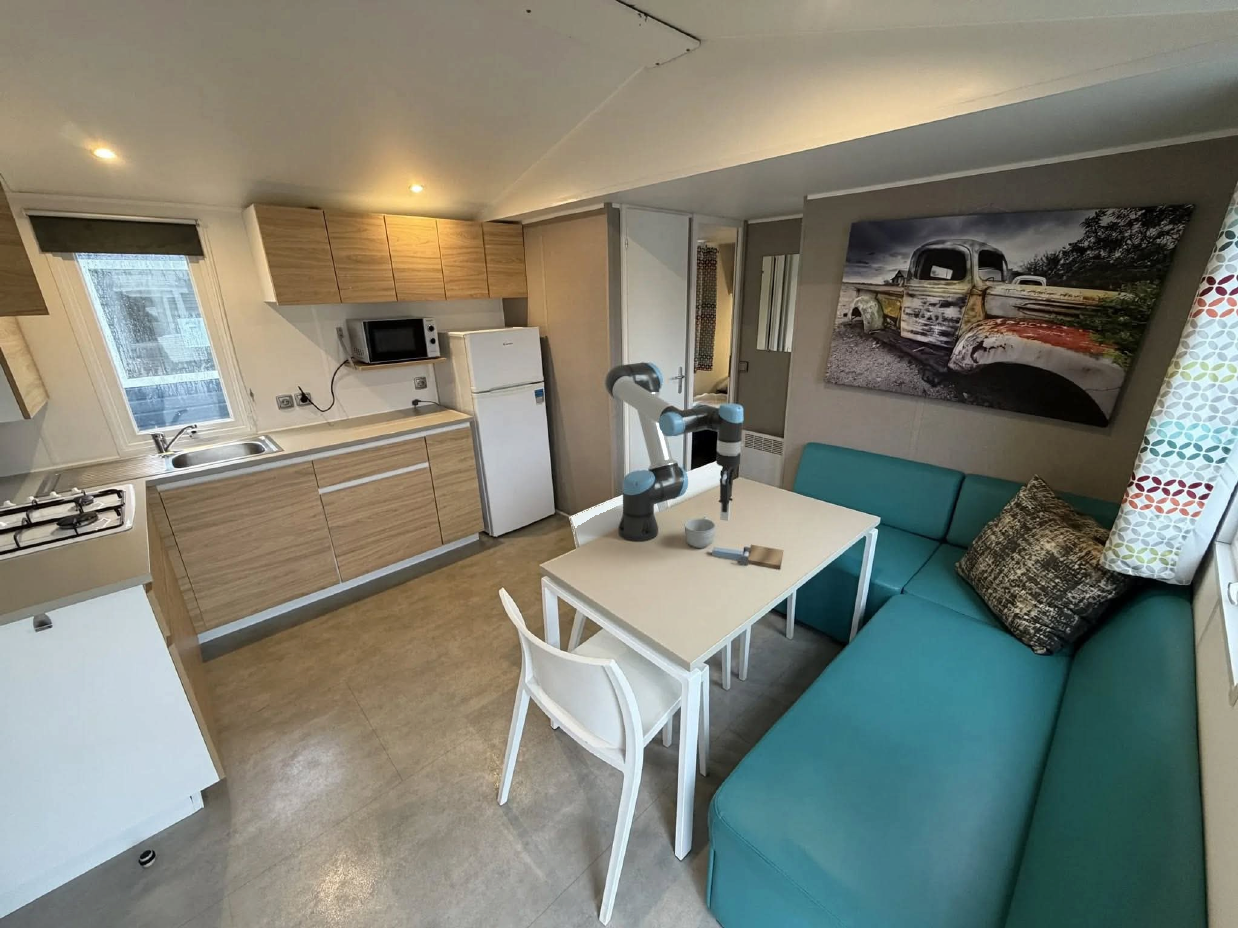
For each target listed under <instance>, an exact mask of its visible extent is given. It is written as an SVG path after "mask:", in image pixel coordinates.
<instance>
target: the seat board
mask: <svg viewBox="0 0 1238 928" xmlns="http://www.w3.org/2000/svg"><path fill="white" fill-rule="evenodd" d="M750 548H751V553H749V555H748V565H749V564H750V565H754V566H755V565H756V566H759V567H760V566H761V567H765V568H771V569H776V570H781V568H782V562H783V557H784V549H778V548H773V547H767V546H762V545H755V544H750Z"/></svg>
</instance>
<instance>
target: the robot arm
mask: <svg viewBox="0 0 1238 928" xmlns="http://www.w3.org/2000/svg"><path fill="white" fill-rule="evenodd" d="M663 380H664V379H663V373H662V372H661V370H660V368H659V367H658V366H657V365H656V364H654V363H652V362H637V363H628V364H627V363H626V364H619V365H616V366H614V367H612V368H610V370H609V371H608V372H607V374H606V376H605V379H604V382H605V383H604V384H605V386H604V387H605V389H606V393H608V394H609V395H610V397H612V398H613V399H614V400H617V401H619V402H623V403H626V404H627V405H629V406H631V407H632V408H634V409H635V410H637V415H638V419H639V422H640V426H641V430H642V434H643V438H644V442H645V443H644V444H645V446H646V450H647V455H648V458H649V463H650V465H649V466H648V468H647V470H646V469H642V470H634V471H631V472H629V473H627V474H626V475H625V476H624V477H623V479H622V487H621V490H622V515H621V518H620V520H619V525H618V535H619V536H620V537H621V538H622V539H624V540H627V541H631V542H645V541H646V542H647V541H650V540H653V539H655V538H657V536H658V535H659V525H658V522H657V519H656V516H655V511H654V510H655V505H657V504H659V503H663V502H667V501H670V500H675V499H677V498H680V497H682V496H683V495H685V493H686V492H687V490H688V486H689V477H688V473H687V472H686V470H685V469H684V467H681V466H679V463H678V461H677V460H675V459H674V458H673V456H672V452H671V449H670V444H669V441H668V440H669V439H668V437H678V436H680V435H685V434H689V433H695V432H701V431H704V430H710V431H713V432H717V440H716V459H715V460H716V462H715V463H716V464H717V466H720V467H721V470H720V475H719V476H720V479H719V484H720V485H719V489H720V490H719V500H718V503H720V515H719V516H720V517H719V518H720V519H719V520H720V521H725V522H729V520H730V510H731V509H730V507H731V502H733V500H734V498H732V493H733V485H734V484H733V482H734V475H735V470H736V469H735V468H736V467H738V466H740V465H741V456H742V455H741V450H742V449H741V448H742V447H744V444H743V443H742V439H743V437H742V436H743V435H742V434H743V425H744V407H743V406H742V405H741V404H737V403H730V402H729V403H723V404H721V405H719V407H716V406H712V405H708V404H701V403H698V404H695V405H694V406H692V408H688V409H679V408H678V407H676V406H674V405H672V404H671V403H669V402H667V401H665V400H664V399H662V398H661V397H660V394H661V391H660V390H661V388H662V387H663V383H664V381H663Z"/></svg>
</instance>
